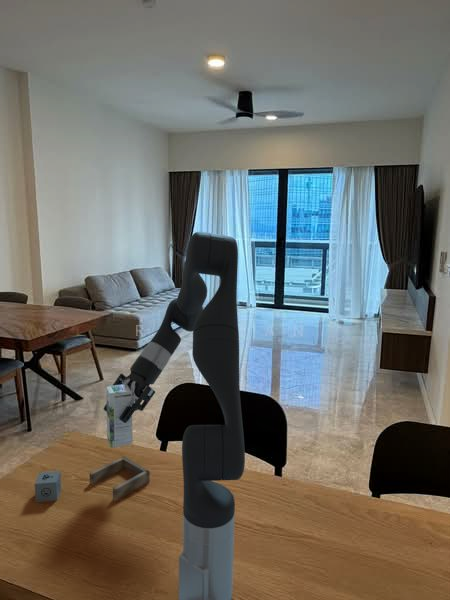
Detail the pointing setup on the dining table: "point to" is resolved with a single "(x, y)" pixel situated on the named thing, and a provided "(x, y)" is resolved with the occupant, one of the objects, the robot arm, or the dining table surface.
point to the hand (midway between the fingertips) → (114, 416)
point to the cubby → (127, 486)
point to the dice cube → (48, 486)
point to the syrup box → (118, 416)
